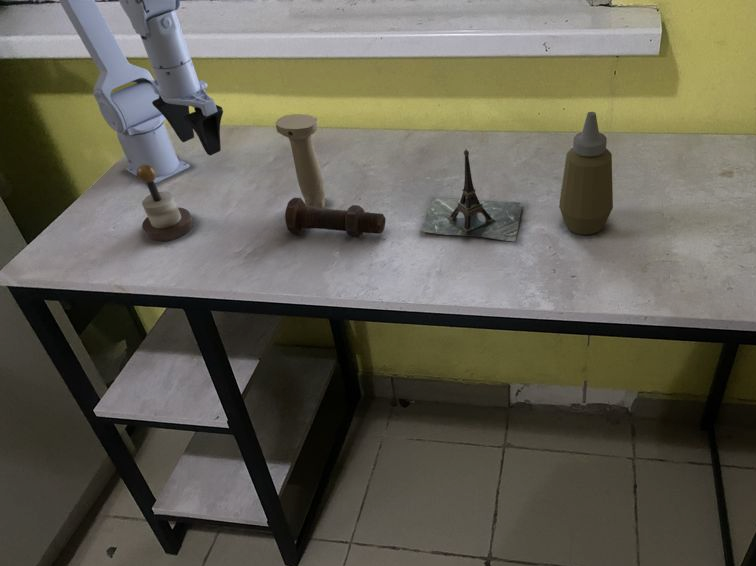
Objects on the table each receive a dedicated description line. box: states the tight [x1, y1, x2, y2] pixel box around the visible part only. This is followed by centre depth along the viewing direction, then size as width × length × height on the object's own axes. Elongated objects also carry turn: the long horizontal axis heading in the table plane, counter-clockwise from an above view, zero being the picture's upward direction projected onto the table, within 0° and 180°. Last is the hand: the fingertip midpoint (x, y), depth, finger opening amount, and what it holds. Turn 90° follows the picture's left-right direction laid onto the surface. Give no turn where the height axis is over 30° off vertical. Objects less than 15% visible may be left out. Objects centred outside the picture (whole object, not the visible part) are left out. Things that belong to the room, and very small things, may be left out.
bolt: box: [284, 197, 387, 239], centre depth 110 cm, size 6×5×15 cm
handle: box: [274, 113, 327, 209], centre depth 113 cm, size 5×6×15 cm
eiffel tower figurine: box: [419, 149, 524, 242], centre depth 107 cm, size 15×10×13 cm
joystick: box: [136, 164, 194, 243], centre depth 112 cm, size 11×8×8 cm
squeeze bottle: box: [558, 111, 614, 236], centre depth 103 cm, size 8×8×18 cm
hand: (200, 146), depth 114 cm, fingers open, 7 cm apart
